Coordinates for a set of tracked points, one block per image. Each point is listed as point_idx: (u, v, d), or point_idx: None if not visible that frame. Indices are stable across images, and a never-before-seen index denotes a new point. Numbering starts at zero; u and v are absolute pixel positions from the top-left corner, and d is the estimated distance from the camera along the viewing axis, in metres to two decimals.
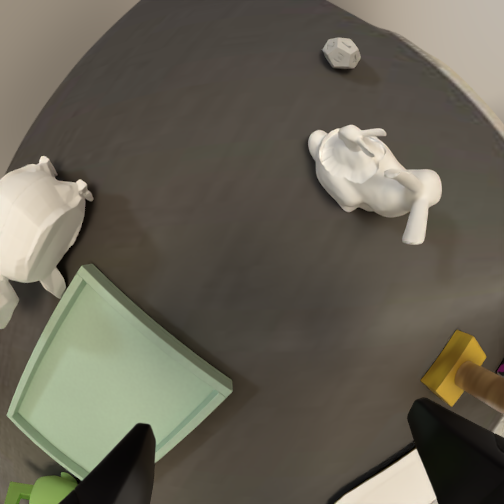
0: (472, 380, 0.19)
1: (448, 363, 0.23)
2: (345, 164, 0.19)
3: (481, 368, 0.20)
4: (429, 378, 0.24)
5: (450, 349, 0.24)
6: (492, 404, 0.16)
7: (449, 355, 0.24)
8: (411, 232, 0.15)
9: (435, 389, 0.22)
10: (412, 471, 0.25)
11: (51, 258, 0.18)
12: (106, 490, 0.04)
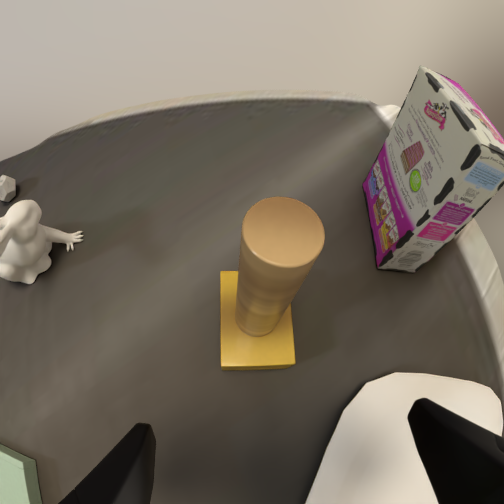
0: (237, 311, 0.17)
1: None
2: None
3: None
4: None
5: None
6: (257, 307, 0.13)
7: None
8: None
9: None
10: (385, 465, 0.16)
11: None
12: (106, 490, 0.04)
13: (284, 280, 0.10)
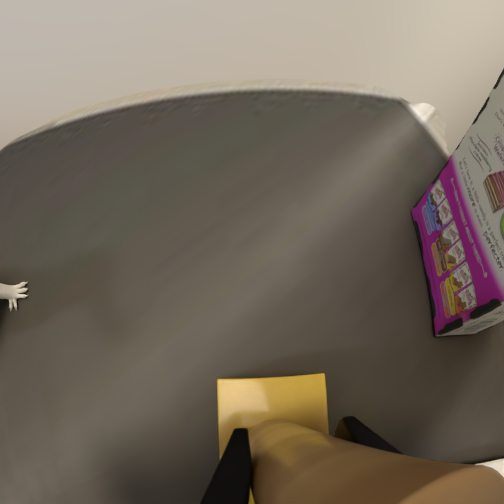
0: None
1: None
2: None
3: (259, 434, 0.09)
4: None
5: None
6: None
7: None
8: None
9: None
10: None
11: None
12: None
13: None
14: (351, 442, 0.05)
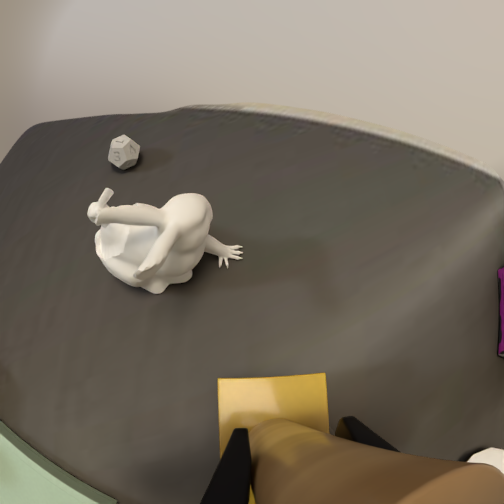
0: None
1: None
2: (110, 244, 0.18)
3: (260, 434, 0.09)
4: None
5: None
6: None
7: None
8: (142, 263, 0.13)
9: None
10: None
11: None
12: None
13: None
14: (352, 441, 0.05)
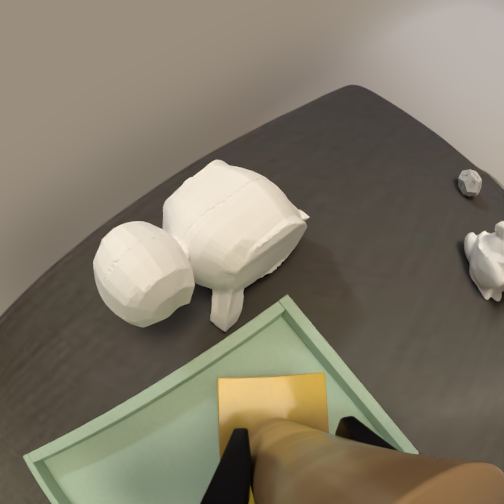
0: None
1: None
2: (497, 252, 0.19)
3: (259, 433, 0.09)
4: None
5: None
6: None
7: None
8: None
9: None
10: None
11: (258, 270, 0.18)
12: None
13: None
14: (351, 440, 0.05)
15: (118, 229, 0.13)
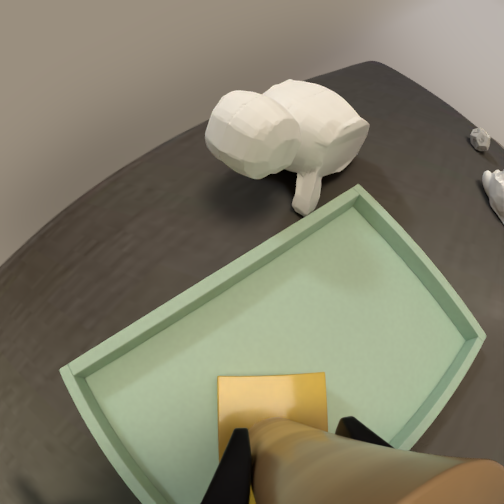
0: None
1: None
2: None
3: (259, 432, 0.09)
4: None
5: None
6: None
7: None
8: None
9: None
10: None
11: (336, 157, 0.19)
12: None
13: None
14: (353, 439, 0.05)
15: (238, 91, 0.14)
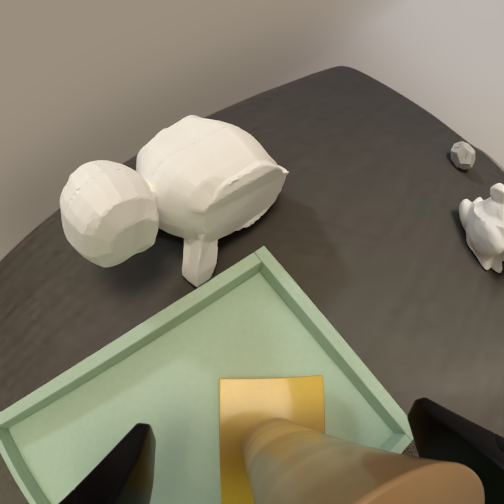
0: None
1: None
2: (494, 216, 0.18)
3: (258, 432, 0.09)
4: None
5: None
6: None
7: None
8: None
9: None
10: None
11: (232, 217, 0.17)
12: (106, 490, 0.04)
13: None
14: (343, 439, 0.05)
15: (86, 164, 0.12)
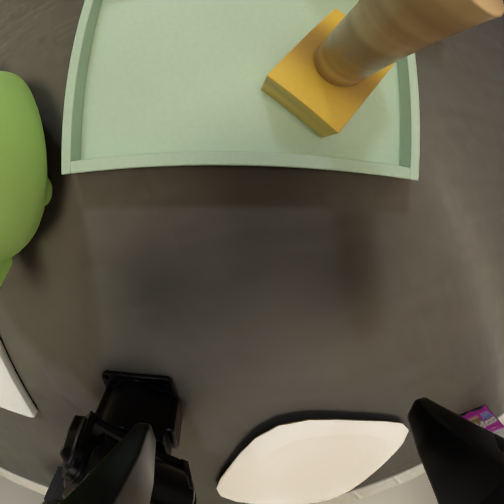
0: (330, 34, 0.10)
1: None
2: None
3: None
4: None
5: None
6: (367, 25, 0.07)
7: None
8: None
9: None
10: (348, 449, 0.27)
11: None
12: (106, 490, 0.04)
13: (436, 1, 0.04)
14: None
15: None
